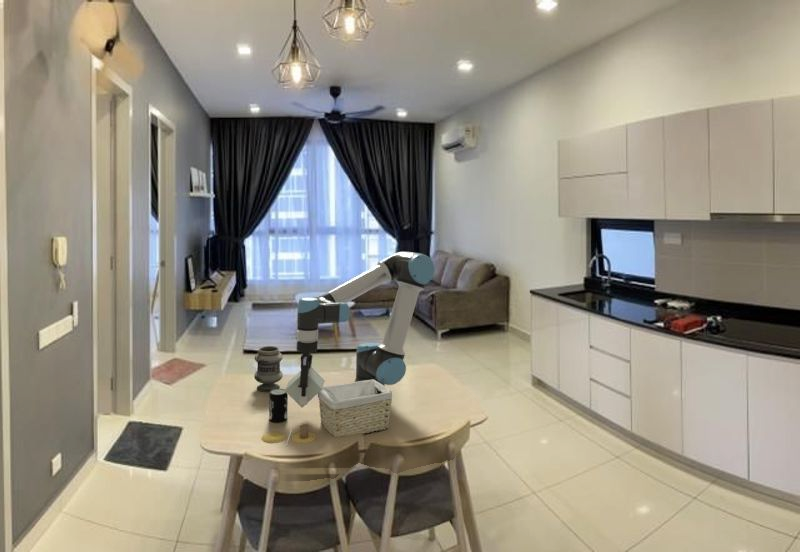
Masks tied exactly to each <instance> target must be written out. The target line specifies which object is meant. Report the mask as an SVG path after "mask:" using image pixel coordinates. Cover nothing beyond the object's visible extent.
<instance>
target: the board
mask: <svg viewBox="0 0 800 552" xmlns="http://www.w3.org/2000/svg"><path fill="white" fill-rule="evenodd" d="M298 429H299V430H298V431H299V432H297V433H295V434H293V435H292V436H291V434H292V431H293V429H292V428H291V429H290V431H289V434H288V437H287V435H286V434H285V433H284V432H280V431H271V432H267V433H264V434H263V435H262V436H261V440H262V441H263V442H264V443H268V444H278V443H281V442H283V441H285V440H286V438H287V440H286V443H285V447H287V446H288V443H289V440H290V438H291V440H292V441H293V442H295V443H298V444H307V443H311V442H314V440H316V434H315V433H312V432H311V431H310V432H309V425H308V424H301V425H299V428H298Z"/></svg>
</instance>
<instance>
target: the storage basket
mask: <svg viewBox="0 0 800 552" xmlns="http://www.w3.org/2000/svg"><path fill="white" fill-rule="evenodd" d="M377 390H378V391H380V392H382V393H381V394H377ZM317 398H318V403H319V415H320V416H319V417H320V423H321V424H322V425H323V427H324V428H325V429H326V430H327V431H328V432H329V433H330V434H331V435H333V436H334V438H338V437H339V438H340V437H346V436H352V435H357V434H362V435H365V433H367V434H371V433H373V432H374V431H376V432H378V430H379V431H383V429H384V430H387V429H389V427H390V418H391V417H390V416H391V415H390V414H391V407H392V402H393V401H392V399H393V391H392V390H391V389H390V388H388V387H386V385H385V386H384V385H382V384H381V383H379V382H377V381H375V380H373V379H371V380H365V381H358V382H355V381H353V382H348V383H342V384H341V383H340V384H334V385H333V384H332V385H326V386H323V389H322V390H319V393H318V394H317ZM386 428H387V429H386ZM370 432H371V433H370ZM374 433H375V432H374Z"/></svg>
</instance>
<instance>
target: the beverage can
mask: <svg viewBox="0 0 800 552" xmlns="http://www.w3.org/2000/svg"><path fill="white" fill-rule="evenodd" d="M285 389H286V388H285ZM285 389H284V388H280V389H273V390H271V392H269V393H270V394H269V396H268V397H269V398H268V401H269V402H268V421H269V423H273V424H281V423H285V422H286V421H288V409H289V408H288V405H289V404H288V403H289V402H288V397H289V395H288V394H287V393H286V392H285V391H284V390H285Z"/></svg>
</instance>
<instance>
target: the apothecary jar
mask: <svg viewBox="0 0 800 552" xmlns="http://www.w3.org/2000/svg"><path fill="white" fill-rule="evenodd" d="M254 360H255V362H256V363H257V369H256V372H255V373H254V375H253V376H254V380H255V381H256V382H257V383H260V384H259V385H257V387H256V390H258V391H259V392H263V393H264V392H265V393H271V390H273V389H281V386H280V385H279V384H277V383H279V382H280V381H281V380H282V379H283V377H284V375H283V371H282V370H281V367H280V364H281V361H282V360H283V354H282V353H281V352H280V351H279V347H278V346H272V345H265V346H262V347H259V349H258V351H257V353H256V354H255V355H254Z"/></svg>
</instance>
